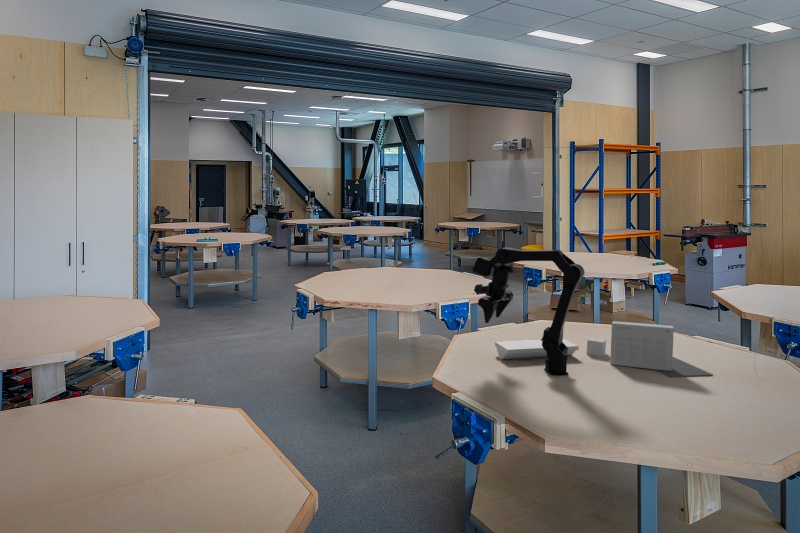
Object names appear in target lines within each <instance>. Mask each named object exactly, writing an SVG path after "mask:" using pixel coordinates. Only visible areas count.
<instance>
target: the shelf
mask: <svg viewBox="0 0 800 533" xmlns="http://www.w3.org/2000/svg"><path fill="white" fill-rule="evenodd" d="M562 342H563V343H564V344H565V345H566V346H567V348H568V351H567V353H566V354H565V355H566V356H567V357H568V356H573V355H574V353H576V351H579V347H580V346H579V345H577V344H575V343H574V342H571V341H569V340H567V339H565V338H563V341H562ZM494 346H495V347H496V352H497V355H498V358H499V359H501V360H512V359H527V358H544V357H545V358H547V353H546V351H545V350H544V348H543V347H542V341H541V339H528V340H524V339H523V340H509V341H508V340H507V341H494Z"/></svg>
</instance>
